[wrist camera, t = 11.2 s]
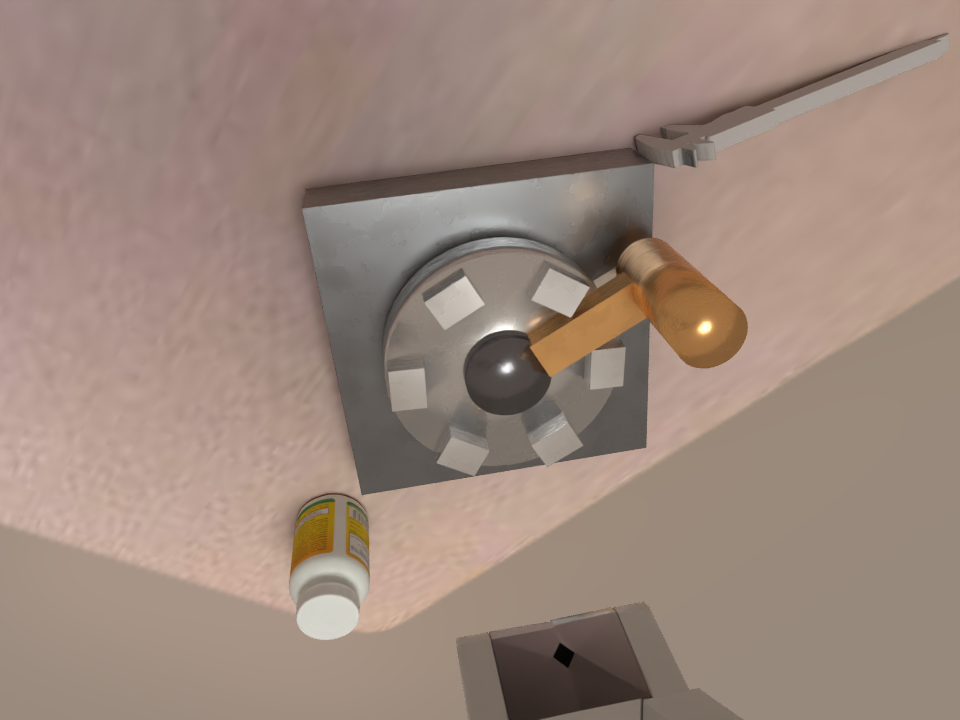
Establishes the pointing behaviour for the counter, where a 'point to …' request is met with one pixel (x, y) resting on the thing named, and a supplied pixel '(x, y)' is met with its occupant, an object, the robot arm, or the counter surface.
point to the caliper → (780, 108)
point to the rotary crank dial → (535, 344)
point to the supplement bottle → (330, 566)
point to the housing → (445, 225)
